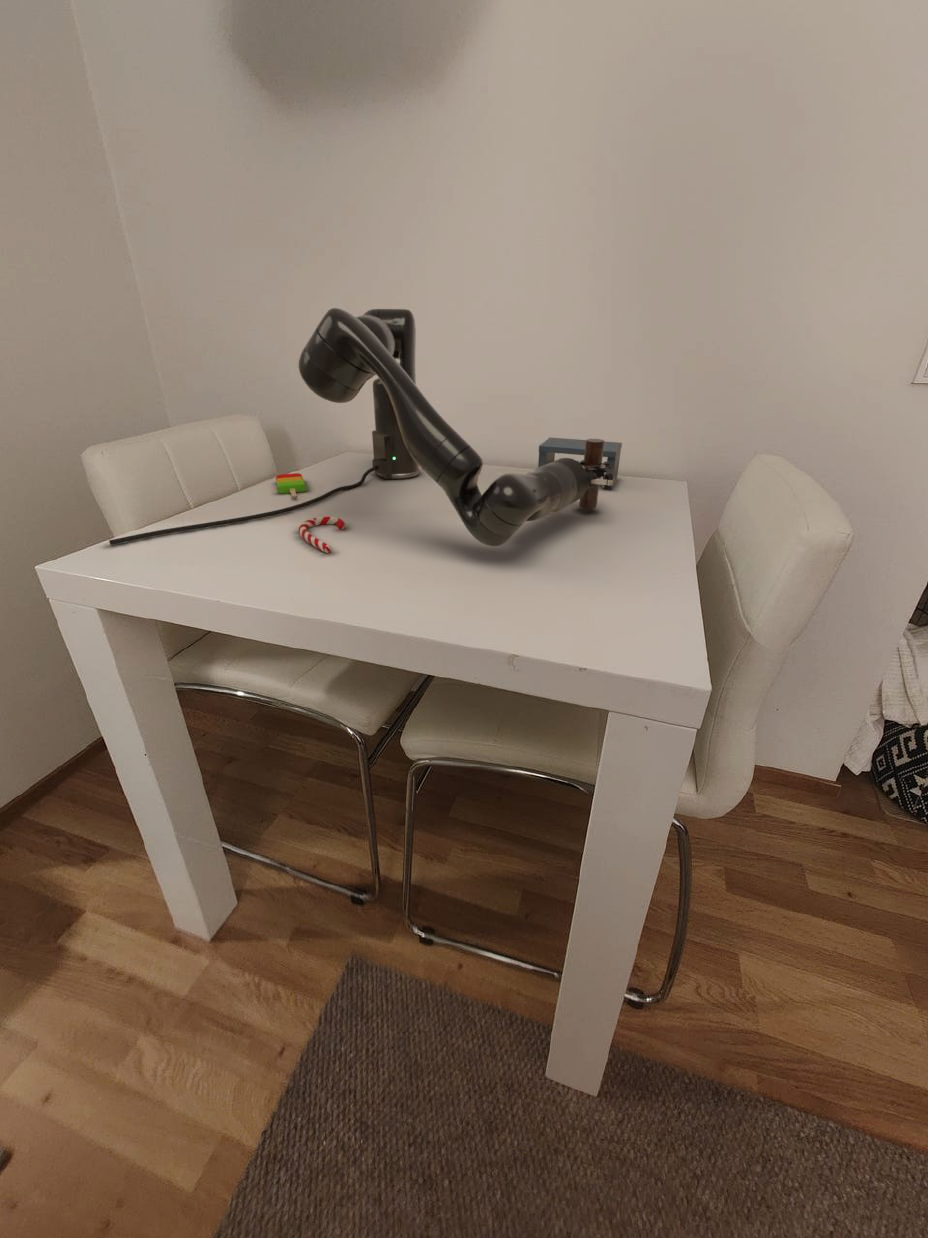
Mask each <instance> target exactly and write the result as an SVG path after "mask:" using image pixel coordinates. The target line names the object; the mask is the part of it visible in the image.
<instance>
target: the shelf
mask: <svg viewBox="0 0 928 1238" xmlns="http://www.w3.org/2000/svg"><path fill="white" fill-rule="evenodd" d="M586 440H587V439H577V438H564V437H563V438H562V437H548V438H547V439H545V440H544V441H543V442H541V444H539V445H538V463H537V464H538V465H537V468H539V467H541V466H542V465H543V464H544V463H551V462H553V461H555V460H556V459H555V458H556V457H555V456H556V454H563V455H576V456H584V454H585V444H586ZM622 447H623V442H617V441H605V440H604V449H603V457H602V458H607V459H606V461H607V462H610V463H611V465H612V467H613V468H614V476H613V484H612V489H611V490H610V491H612V490H613V488H614V486H615V484H616V482H617V480H618V476H619V475H618V474H619V468H620V460H621V451H622ZM604 488H605V487H603V489H604ZM605 490H606V489H604V491H605ZM606 491H607V490H606Z"/></svg>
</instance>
